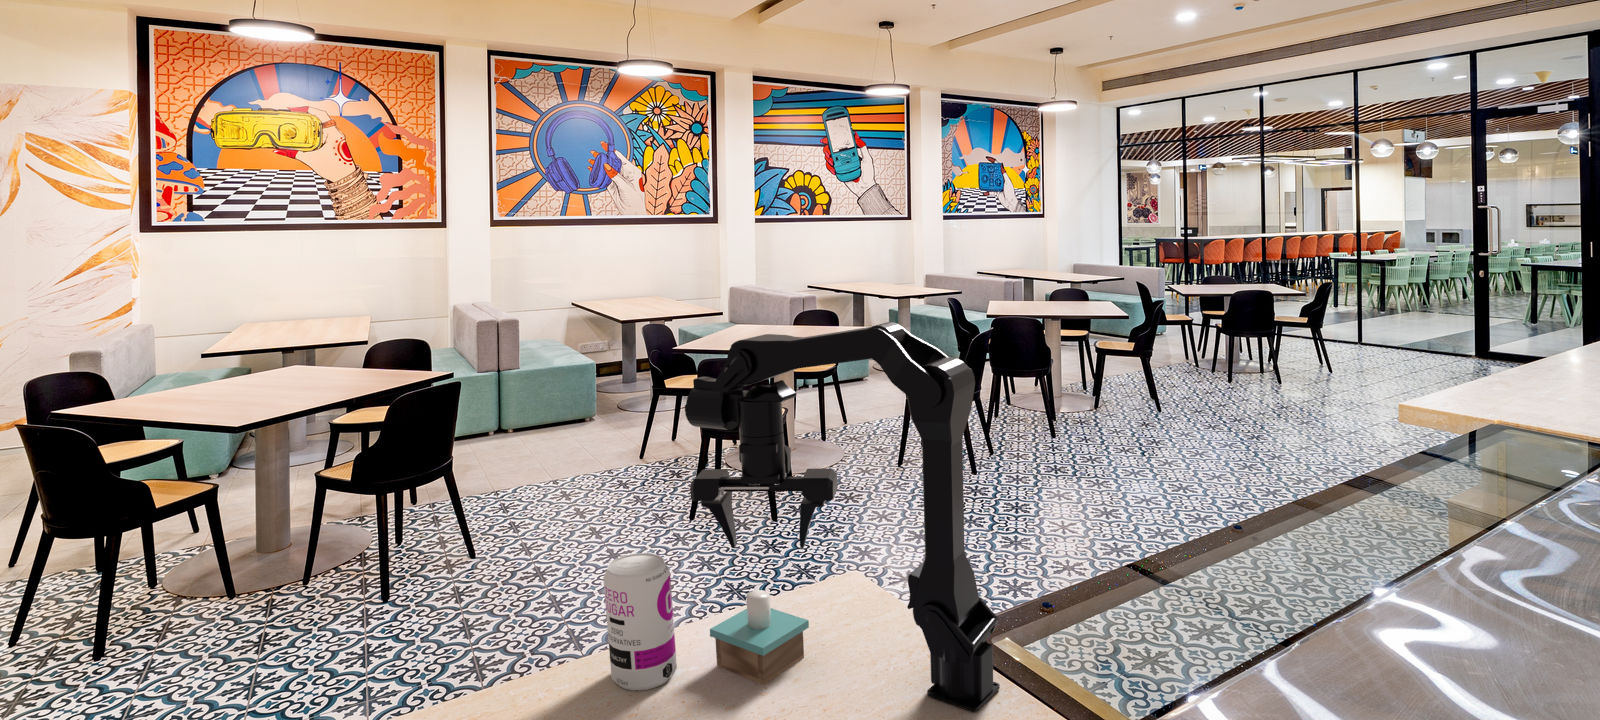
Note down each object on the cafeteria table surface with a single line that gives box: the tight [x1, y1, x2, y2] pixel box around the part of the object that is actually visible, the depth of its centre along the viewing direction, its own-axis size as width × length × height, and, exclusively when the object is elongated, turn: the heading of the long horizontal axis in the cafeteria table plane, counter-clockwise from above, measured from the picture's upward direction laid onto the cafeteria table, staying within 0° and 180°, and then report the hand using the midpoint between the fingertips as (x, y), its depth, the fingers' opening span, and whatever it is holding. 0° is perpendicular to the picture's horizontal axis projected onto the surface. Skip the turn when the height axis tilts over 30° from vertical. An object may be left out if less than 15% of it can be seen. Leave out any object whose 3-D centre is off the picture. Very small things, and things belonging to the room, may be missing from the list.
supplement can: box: [603, 552, 678, 691], centre depth 108 cm, size 8×8×15 cm
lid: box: [709, 589, 810, 656], centre depth 110 cm, size 9×9×6 cm
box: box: [714, 631, 805, 686], centre depth 111 cm, size 8×8×4 cm
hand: (768, 547), depth 114 cm, fingers open, 9 cm apart
